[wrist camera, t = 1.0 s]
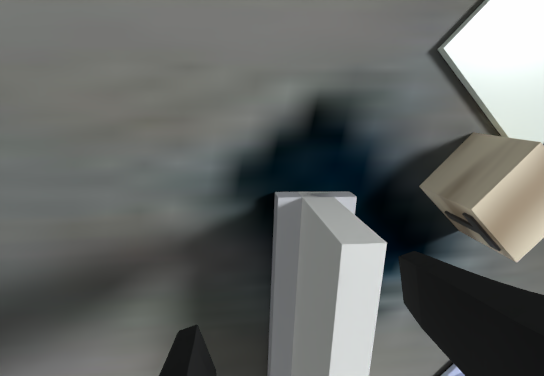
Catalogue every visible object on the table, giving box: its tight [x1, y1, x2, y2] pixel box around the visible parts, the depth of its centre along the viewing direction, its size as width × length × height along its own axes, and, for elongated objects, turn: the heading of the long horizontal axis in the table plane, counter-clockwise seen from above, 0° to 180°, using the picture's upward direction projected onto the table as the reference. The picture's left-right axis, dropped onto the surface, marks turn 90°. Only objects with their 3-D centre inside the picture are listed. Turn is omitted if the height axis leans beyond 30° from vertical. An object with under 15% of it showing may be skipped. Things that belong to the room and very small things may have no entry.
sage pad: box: [437, 0, 544, 143], centre depth 21 cm, size 10×8×1 cm
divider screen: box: [267, 192, 387, 376], centre depth 20 cm, size 16×5×8 cm, turn 178°
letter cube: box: [419, 133, 544, 263], centre depth 21 cm, size 5×5×5 cm
